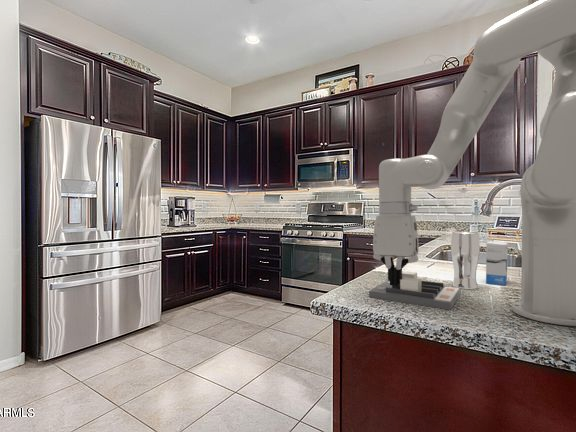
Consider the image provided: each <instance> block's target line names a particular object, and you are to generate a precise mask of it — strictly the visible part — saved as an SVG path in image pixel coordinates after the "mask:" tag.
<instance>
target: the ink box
mask: <svg viewBox="0 0 576 432" xmlns="http://www.w3.org/2000/svg"><path fill="white" fill-rule="evenodd" d="M508 243H509V242H507V241H506V242H505V241H495V240H492V241H491V240H489V241H487V242H486V248H485V249H486V252H485V253H486V257H485V258H486V259H485V260H486V261H485V262H486V263H485V264H486V265H485V271H486V272H485V283H486V284H489V285H496V284H497V286H498V285H499V286H506V285H507V282H508V257H509V256H508V254H509V253H508V248H509V247H508V245H509V244H508Z"/></svg>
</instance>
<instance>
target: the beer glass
mask: <svg viewBox="0 0 576 432" xmlns="http://www.w3.org/2000/svg"><path fill="white" fill-rule="evenodd" d="M450 241H451V242H450V252H451V253H450V254H451V261H452V266H453V272H454V273H453V281H452V287H457V288H461V289H463V290H476V289H479V288H478V282H477V269H478V265H479V259H480V253H481V252H480V251H481V245H480V243H481V242H480V233H479V232H471V231H453V232H451V240H450Z"/></svg>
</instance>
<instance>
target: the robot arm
mask: <svg viewBox="0 0 576 432" xmlns="http://www.w3.org/2000/svg"><path fill="white" fill-rule="evenodd" d="M535 52H537V53H538V54H539V56H541V57H542V58H543V59H544V60H546V61H547V62H549V63H550V64H551V65H552V66H553V67H554V70H555V78H554V81H553V86H552V90H551V94H550V97H549V99H548V100H549V101H548V102H547V107H546V109H545V112H544V115H543V116H542V119H541V121H540V124H539V136H540V139H541V140H540V144H539V146H538V147H539V148H538V150H537V154H536V157H535V160H534V163H532V164H531V165H530V166H528V168H527V169H526V170H524V171H525V172H523V173H524V174H523V175H522V178H521V181H520V188H519V189H520V203H521V204H520V205H521V282H520V283H521V284H520V285H521V290H520V291H521V293H520V295H521V296H520V297H521V298H520V301H515V302H514V303H512V305H511V310H512V311H513V312H514V313H515V314H516V315H518V316H521V317H524V318H525V319H526V318H527V319H528V320H529V319H530V320H533V321H537V322H541V323H547V324H553V325H559V326H566V327H567V326H568V327H576V0H537V1H535V2H533V3H532V4H530V5H527V6H526V7H523V8H521V9H519V10H518V11H516V12H514V13H511V14H510V15H508V16H506V17H504V18H503V19H501V20H500V21H497V22H496V23H494V24H493V25H491V26H490V27H489V28H487V29H486V30H485V31H484V32H482V33H481V34H480V36H479V37H478V38H477V40H476V41H475V44H474V48H473V59H472V62H471V63H470V65H469V67H468V68H467V70H466V72H465V73H464V76H462V79H461V81H460V82H459V84H458V85H457V87H456V89H455V90H454V92H453V94H452V95H451V97H450V99H449V101H448V102H447V103H446V106H445V108H444V110H443V113H442V115H441V120H440V126H439V129H438V132H437V135H436V137H435V139H434V141H433V143H432V145H431V147H430V148H429V150H428V151H427V154H421V155H416V156H412V157H407V158H388V159H384V160H382V161H381V162H380V163H379V164H378V165H379V166H378V215H376V218H375V222H374V227H373V228H374V229H373V235H372V237H373V239H372V251H373V255H372V257H373V259H374V260H376V261H380V262H382V263H383V264H384V265H385V267H386V269H387V281H390V285H394V286H397V285H399V284H400V280H401V279H402V271H403V268H404V267H406V266H407V264H412V263H417V262H418V261H419V256H418V254H419V248H420V247H419V246H420V245H419V233H418V225H417V224H418V223H417V219H416V216H415V215H412V214H413V212H414V211H415V212H417V211H418V208H419V207H418V204H413V202H412V187H419V188H423V189H425V190H435V189H436V190H437V189H439V188H440V187H442V186H443V185H444V184H445V183H446V182H447V180H449V178H450V176H451V174H452V173H453V171H454V170H455V168H456V166H458V164H459V162H460V160H461V159H462V157H463V156H464V154H465V152H466V151H467V148H468V147H469V145H470V143H471V142H472V140H473V139H474V137H475V136H476V135H477V134H478V132H479V130H480V128H481V126H482V124H483V123H484V122H485V120H486V118H487V117H488V116H489V114H490V112H491V110H492V108H493V106H494V105H495V104H496V103H497V101H498V99H499V97H500V96H501V94H502V93H503V92H504V90H505V88H506V86H507V85H508V84H509V82H510V80H511V79H512V78H513V76H514V74H515V72H516V71H517V69H518V68H519V65H520V62H521V59H522V58H524V57H526V56H528V55H532V54H533V53H535ZM394 257H396V263H395V260H394Z"/></svg>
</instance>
